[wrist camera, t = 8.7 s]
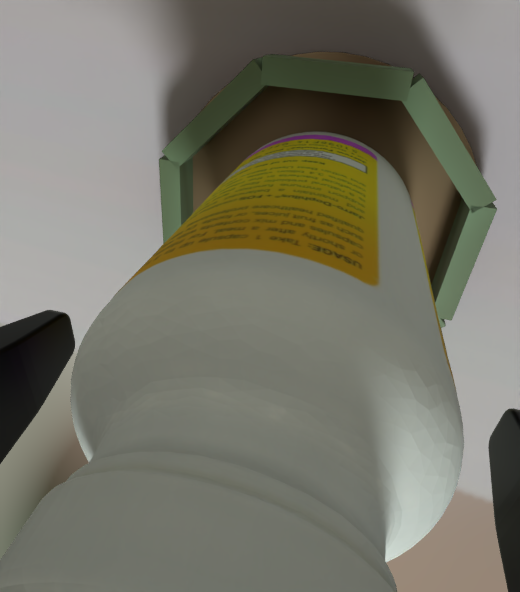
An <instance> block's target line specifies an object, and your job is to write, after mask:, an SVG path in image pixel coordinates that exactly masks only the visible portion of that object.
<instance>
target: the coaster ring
mask: <svg viewBox="0 0 520 592" xmlns="http://www.w3.org/2000/svg"><path fill="white" fill-rule="evenodd" d="M413 74H414V71H413V70H412V69H411V68H401V67H393V66H391V65H389V64H386V63H383V62H380V61H377V60H374V59H372V58H369V57H366V56H360V55H355V54H349V53H343V52H312V53H304V54H296V55H292V56H286V55H276V54H270V55H265V56H263V57H262V58H258V59H253V60H252V61H251V62H250V63H249V64H248V65H247V66H246V67H245V68H244V69H243V70H242V71H241V72H240V73H239V74H238V75H237V76H236V77H235V78H234V79H233V80H232V81H231V82H230V83H229V84H228V85H227V86H226V87H224V88H223V89H222V90H221V91H220V92H219V93H217V94H216V95H215V96H214V97H213V98H212V99H211V100H210V101H209V102H208V104H207V105H206V106H205V107H204V108H203V109H202V111H201V112H200V113H199V114H198V115H197V116H196V117H195V118H194V119H193V120H192V121H191V122H190V123H189V124H188V125H187V126H186V127H185V128H184V129H183V130H182V131H181V132H180V133H179V134H178V135H177V136H176V137H175V138H174V139H173V140H172V141H171V142H170V143H169V144H168V145H167V146H166V147H165V148H164V149H163V150H162V152H163V153H164V154H165V156H163V157H162V158H160V159H159V168H160V187H161V205H162V224H163V242H164V243H165V242H166V241H167V240H168V239H169V238H170V237H171V236H172V235H173V234H174V233H175V232H176V231H177V230H178V229H179V228H180V226H181V225H182V224H183V223H184V222H185V221H186V220H187V219H188V218H189V217H190V216H191V215H192V214H193V213H194V212H195V210H196V209H197V208H198V207H199V206H200V205H201V204H202V203H203V202H204V201H205V200H206V199H207V198H208V197H209V196H210V195H211V194H212V193H213V191H214V190H215V189H216V188H217V187H218V186H219V185H220V184H221V183H222V182H223V181H224V180H225V179H226V178H227V177H228V176H229V175H230V174H231V173H232V172H233V171H234V170H235V169H236V168H237V167H238V166H239V165H240V164H241V163H242V162H243V161H244V160H245V159H246V158H247V157H248V156H250V155H251V154H252V153H254V152H255V151H256V150H258V149H259V148H260V147H262V146H264V145H266V144H267V143H269V142H271V141H274V140H276V139H278V138H281V137H284V136H288V135H291V134H296V133H303V132H329V133H335V134H339V135H343V136H347V137H350V138H352V139H355V140H357V141H359V142H362V143H364V144H365V145H367V146H369V147H370V148H372V149H373V150H375V151H376V152H377V153H379V154H380V155H381V156H382V157H384V158H385V159H386V160H387V161H388V162H389V163H390V164H391V165H392V167H393V168H394V169H395V170H396V171H397V173H398V174H399V176H400V177H401V179H402V180H403V182H404V184H405V186H406V188H407V191H408V193H409V195H410V198H411V202H412V204H413V208H414V212H415V216H416V220H417V224H418V228H419V233H420V237H421V242H422V246H423V251H424V255H425V260H426V265H427V269H428V274H429V278H430V282H431V287H432V291H433V296H434V300H435V305H436V309H437V314H438V318H439V322H440V326H441V328H442V327H444V326H446V325H445V321H444V319H447V320H452V318H453V315H454V313H455V311H456V308H457V306H458V303H459V301H460V298H461V296H462V293H463V291H464V289H465V286H466V284H467V281H468V279H469V276H470V274H471V271H472V269H473V267H474V264H475V262H476V259H477V257H478V254H479V252H480V249H481V247H482V245H483V242H484V240H485V237H486V235H487V232H488V230H489V227H490V225H491V223H492V220H493V218H494V215H495V213H496V210H497V208H496V207H495V205H494V204H493V203H492V202H493V201H495V200H496V198H495V196H494V195H493V193H492V191H491V190H490V188H489V186H488V185H487V183H486V181H485V180H484V178H483V176H482V175H481V173H480V171H479V170H478V168H477V165H476V162H475V159H474V156H473V152H472V149H471V147H470V145H469V143H468V141H467V139H466V137H465V135H464V133H463V131H462V129H461V127H460V126H459V124H458V123H457V122H456V120H455V119H454V117H453V116H452V115H451V113H450V112H449V110H448V109H447V108H446V107H445V106H444V105H443V104H442V103H441V102H440V101H439V100H438V99H437V98H436V97H435V96H434V95H433V93H432V91H431V90H430V88H429V86H428V85H427V83H426V81H425V80H424V78H423V77H422V76H421V75H420V74H418V75H417V76H416V77H415V78H413Z"/></svg>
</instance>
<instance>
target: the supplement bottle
mask: <svg viewBox="0 0 520 592" xmlns="http://www.w3.org/2000/svg"><path fill="white" fill-rule="evenodd" d="M71 410H72V417H73V423H74V427H75V431H76V434H77V437H78V440H79V442H80V445H81V447H82V450H83V452H84V454H85V456H86V458H87V459H88V461H89V464H86V465H84V466H83V467H81V468H80V469H79V470H77V471H76V472H75V473H73V474H72V475H71V476H70V477H69V478H68V480H67V481H66V482H64V483H62V484H60V485H58V486H56V487H55V488H53V489H52V490H51V491H50V492H49V493H48V494H47V495H46V496H45V497H44V498H43V499H42V500H41V501H40V503H39V504H38V506H37V507H36V509H35V510H34V512H33V513H32V514H31V516H30V517H29V519H28V520H27V522H26V523H25V525H24V526H23V528H22V529H21V530H20V532H19V533H18V535H17V536H16V538H15V539H14V541H13V542H12V544H11V545H10V547H9V548H8V549H7V551H6V552H5V554H4V555H3V557H2V558H1V560H0V592H397V588H396V584H395V581H394V578H393V576H392V573H391V572H390V569H389V567H388V565H387V564H386V562H388V561H390V560H392V559H394V558H396V557H398V556H399V555H401V554H403V553H404V552H405V551H407V550H409V549H410V548H412V547H413V546H414V545H415V544H416V543H417V542H419V541H420V540H421V539H422V538H423V537H424V536H425V535H426V534H427V533H428V532H429V531H431V529H432V528H433V527H434V526H435V524H436V523H437V522H438V520H439V519H440V518H441V517H442V515H443V513H444V511H445V510H446V508H447V506H448V504H449V502H450V501H451V499H452V497H453V494H454V491H455V489H456V486H457V483H458V479H459V475H460V471H461V465H462V457H463V449H464V437H463V423H462V417H461V412H460V406H459V402H458V398H457V393H456V388H455V384H454V379H453V375H452V371H451V368H450V363H449V360H448V356H447V352H446V347H445V343H444V339H443V335H442V330H441V326H440V322H439V318H438V314H437V309H436V305H435V300H434V296H433V291H432V287H431V282H430V278H429V274H428V269H427V265H426V260H425V255H424V251H423V246H422V242H421V237H420V233H419V228H418V224H417V220H416V216H415V212H414V208H413V204H412V202H411V198H410V195H409V193H408V191H407V188H406V186H405V184H404V182H403V180H402V179H401V177H400V176H399V174H398V173H397V171H396V170H395V169H394V168H393V167H392V165H391V164H390V163H389V162H388V161H387V160H386V159H385V158H384V157H382V156H381V155H380V154H379V153H377V152H376V151H375V150H373V149H372V148H370V147H369V146H367V145H365V144H364V143H362V142H359V141H357V140H355V139H352V138H350V137H347V136H343V135H339V134H335V133H329V132H303V133H296V134H291V135H288V136H284V137H281V138H278V139H276V140H274V141H271V142H269V143H267V144H266V145H264V146H262V147H260V148H259V149H258V150H256V151H255V152H254V153H252V154H251V155H250V156H248V157H247V158H246V159H245V160H244V161H243V162H242V163H241V164H240V165H239V166H238V167H237V168H236V169H235V170H234V171H233V172H232V173H231V174H230V175H229V176H228V177H227V178H226V179H225V180H224V181H223V182H222V183H221V184H220V185H219V186H218V187H217V188H216V189H215V190H214V191H213V193H212V194H211V195H210V196H209V197H208V198H207V199H206V200H205V201H204V202H203V203H202V204H201V205H200V206H199V207H198V208H197V209H196V210H195V212H194V213H193V214H192V215H191V216H190V217H189V218H188V219H187V220H186V221H185V222H184V223H183V224H182V225H181V226H180V228H179V229H178V230H177V231H176V232H175V233H174V234H173V235H172V236H171V237H170V238H169V239H168V240H167V241H166V242H165V243H164V244H163V245H162V246H161V247H160V248H159V250H158V251H157V252H156V253H155V254H154V255H153V256H152V257H151V258H150V259H149V260H148V261H147V262H146V263H145V264H144V265H143V266H142V267H141V268H140V269H139V270H138V271H137V272H136V274H135V275H134V276H133V277H132V278H131V279H130V280H129V281H128V282H127V283H126V284H125V285H124V286H123V287H122V288H121V289H120V290H119V291H118V292H117V293H116V294H115V296H114V297H113V298H112V300H111V301H110V302H109V303H108V304H107V305H106V306H105V307H104V309H103V310H102V311H101V312H100V313H99V315H98V316H97V318H96V319H95V320H94V322H93V323H92V325H91V327H90V328H89V330H88V331H87V333H86V335H85V337H84V339H83V340H82V343H81V345H80V347H79V350H78V353H77V356H76V359H75V364H74V368H73V372H72V379H71Z"/></svg>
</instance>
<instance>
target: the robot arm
mask: <svg viewBox="0 0 520 592" xmlns="http://www.w3.org/2000/svg"><path fill="white" fill-rule="evenodd" d="M74 349H75V339H74V335H73V330H72V325H71V321H70V317H69V316H68V315H67V314H66V313H63V312H58V311H54V310H47V311H44V312H41V313H38V314H35V315H32V316H30V317H27V318H24V319H21V320H19V321H16V322H13V323H10V324H7V325H5V326H2V327H0V464H1V462H2V461H3V459H4V458H5V457H6V455H7V454H8V452H9V451H10V450H11V449H12V447H13V446H14V444H15V443H16V442H17V440H18V439H19V437H20V436H21V435H22V434H23V432H24V431H25V430H26V428H27V427H28V425H29V424H30V422H31V421H32V420H33V418H34V417H35V416H36V414H37V413H38V411H39V410H40V408H41V406H42V405H43V403H44V402H45V400H46V398H47V397H48V395H49V393H50V391H51V390H52V388H53V386H54V385H55V383H56V381H57V380H58V378H59V376H60V374H61V373H62V371H63V369H64V368H65V366H66V364H67V362H68V361H69V359H70V357H71V356H72V354H73V352H74ZM489 459H490V471H491V482H492V494H493V506H494V517H495V526H496V532H497V538H498V543H499V548H500V553H501V558H502V563H503V568H504V573H505V578H506V583H507V588H508V592H520V410H517V409H508V410H507V411H505V413H504V414H503V416H502V418H501V419H500V421H499V423H498V424H497V426H496V428H495V430H494V431H493V433H492V435H491V437H490V440H489Z"/></svg>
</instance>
